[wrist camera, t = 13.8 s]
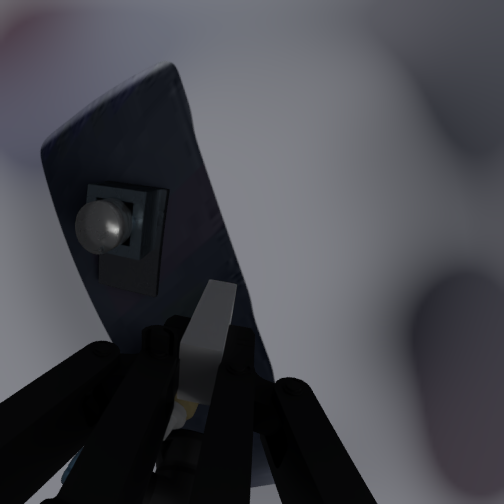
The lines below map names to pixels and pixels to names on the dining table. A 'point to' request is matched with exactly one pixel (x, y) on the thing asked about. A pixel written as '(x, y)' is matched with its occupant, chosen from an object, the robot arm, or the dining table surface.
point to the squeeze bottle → (180, 414)
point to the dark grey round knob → (104, 224)
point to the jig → (134, 237)
